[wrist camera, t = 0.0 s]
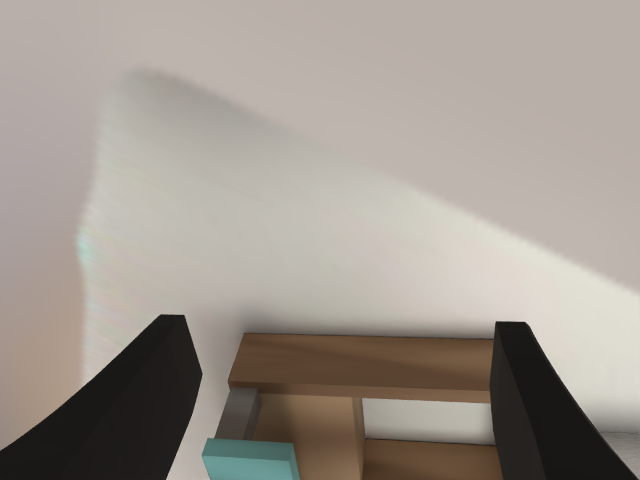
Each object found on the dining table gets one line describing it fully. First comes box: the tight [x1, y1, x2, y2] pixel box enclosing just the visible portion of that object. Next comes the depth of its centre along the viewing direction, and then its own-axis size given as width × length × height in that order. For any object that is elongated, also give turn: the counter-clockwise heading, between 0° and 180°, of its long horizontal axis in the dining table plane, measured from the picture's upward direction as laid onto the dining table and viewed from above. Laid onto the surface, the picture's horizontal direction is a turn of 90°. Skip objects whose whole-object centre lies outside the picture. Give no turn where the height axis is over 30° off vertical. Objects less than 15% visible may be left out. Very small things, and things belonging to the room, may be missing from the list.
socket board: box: [202, 333, 503, 480], centre depth 27 cm, size 11×13×7 cm
